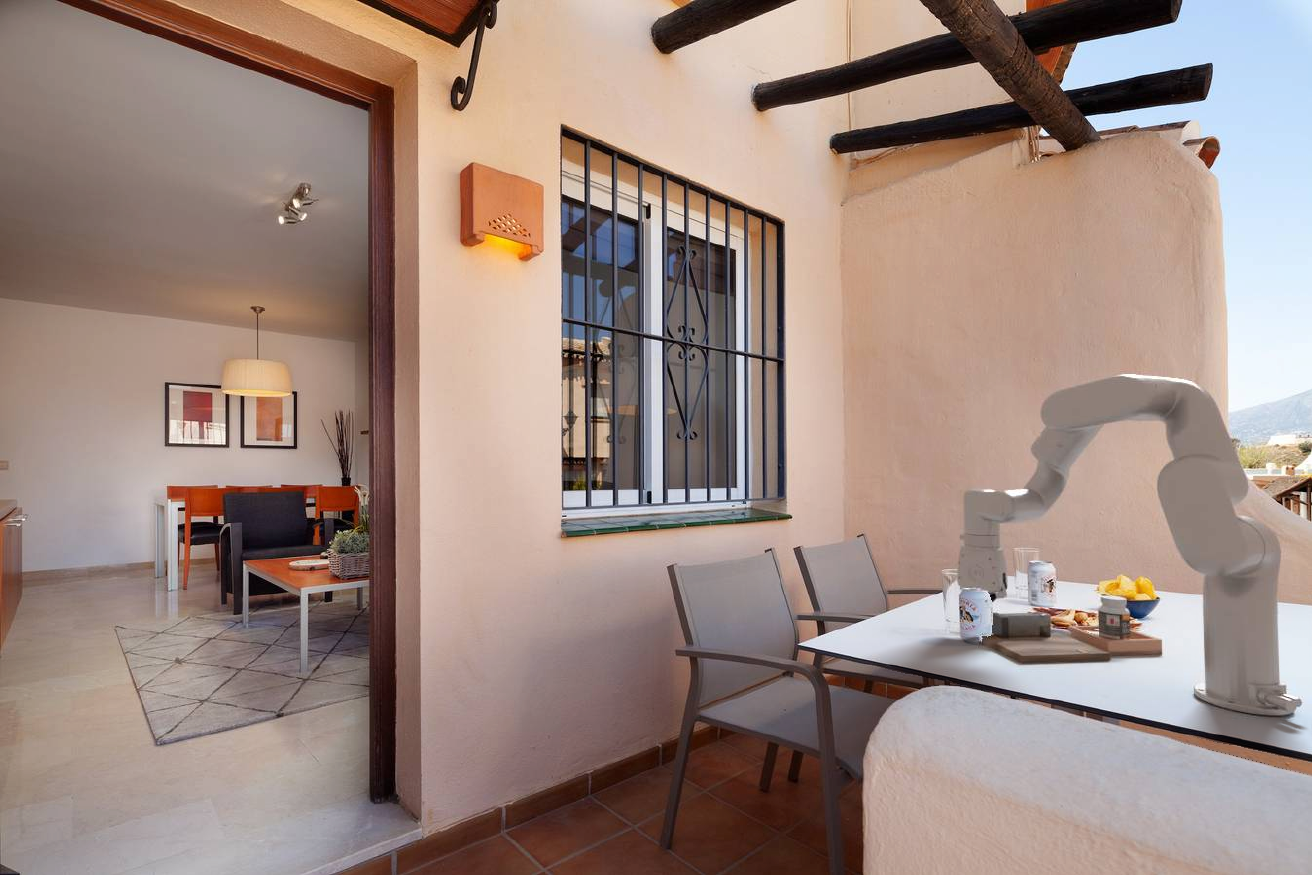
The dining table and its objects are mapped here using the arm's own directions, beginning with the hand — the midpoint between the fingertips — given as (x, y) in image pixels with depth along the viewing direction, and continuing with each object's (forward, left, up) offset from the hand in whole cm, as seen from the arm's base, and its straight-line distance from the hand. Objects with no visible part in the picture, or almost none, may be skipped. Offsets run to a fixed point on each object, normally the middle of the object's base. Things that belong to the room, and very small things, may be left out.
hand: (983, 619), depth 152 cm
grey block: (-6, -6, -2) cm, 9 cm away
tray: (-11, -23, -4) cm, 26 cm away
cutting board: (-12, -6, -4) cm, 14 cm away
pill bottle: (-11, -23, -3) cm, 26 cm away
